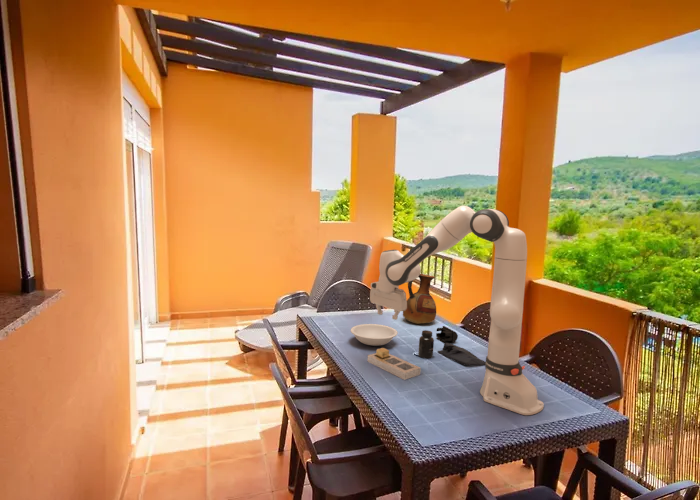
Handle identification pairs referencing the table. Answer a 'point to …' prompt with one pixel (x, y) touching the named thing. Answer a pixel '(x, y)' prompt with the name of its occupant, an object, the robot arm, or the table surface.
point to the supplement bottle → (426, 345)
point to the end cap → (446, 335)
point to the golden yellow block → (382, 353)
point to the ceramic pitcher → (420, 302)
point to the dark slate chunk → (460, 355)
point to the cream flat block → (395, 366)
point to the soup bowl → (373, 334)
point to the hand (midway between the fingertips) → (387, 316)
